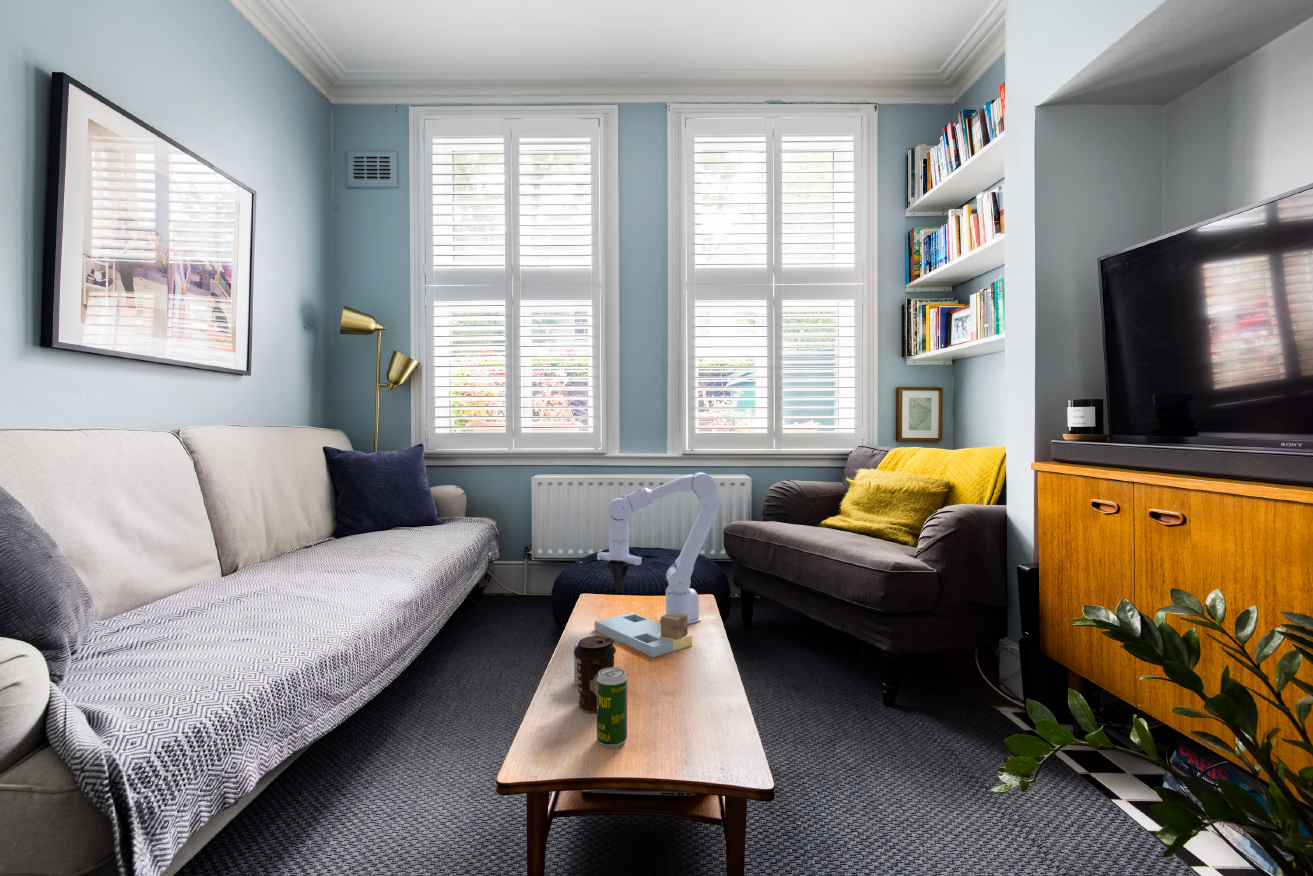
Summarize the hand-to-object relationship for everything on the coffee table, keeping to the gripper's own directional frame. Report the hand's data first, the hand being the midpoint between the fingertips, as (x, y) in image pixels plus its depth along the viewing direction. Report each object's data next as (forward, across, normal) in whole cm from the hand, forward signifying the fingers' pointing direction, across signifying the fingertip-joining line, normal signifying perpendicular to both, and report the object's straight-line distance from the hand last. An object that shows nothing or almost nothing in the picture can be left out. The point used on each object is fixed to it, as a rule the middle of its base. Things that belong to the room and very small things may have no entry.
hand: (619, 586), depth 169 cm
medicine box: (+11, +20, -36) cm, 42 cm away
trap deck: (+10, +12, -7) cm, 18 cm away
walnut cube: (+8, +23, -7) cm, 25 cm away
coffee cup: (+11, +27, -45) cm, 54 cm away
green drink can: (+11, +38, -54) cm, 67 cm away
